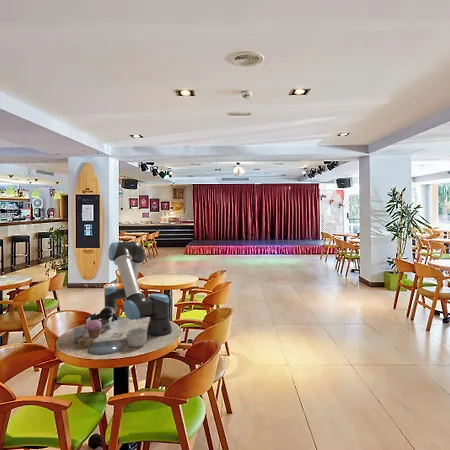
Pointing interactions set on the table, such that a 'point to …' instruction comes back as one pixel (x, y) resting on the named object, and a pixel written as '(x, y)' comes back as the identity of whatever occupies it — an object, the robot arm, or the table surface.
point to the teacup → (136, 337)
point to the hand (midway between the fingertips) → (98, 322)
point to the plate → (105, 347)
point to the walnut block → (85, 342)
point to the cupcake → (94, 328)
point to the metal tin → (78, 334)
